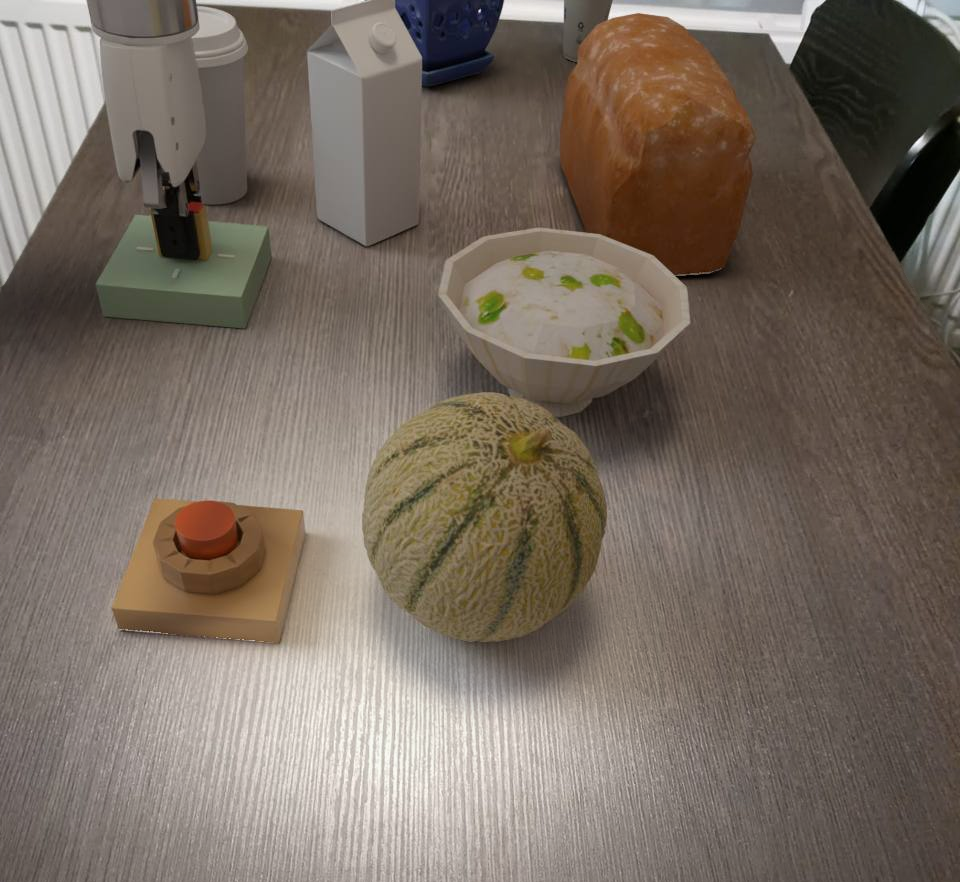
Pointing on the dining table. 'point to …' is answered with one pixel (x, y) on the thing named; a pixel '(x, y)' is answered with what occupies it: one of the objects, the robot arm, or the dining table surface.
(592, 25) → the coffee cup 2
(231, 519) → the bell button
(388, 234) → the milk carton
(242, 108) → the coffee cup
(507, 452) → the cantaloupe
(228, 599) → the tan square stand
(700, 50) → the bread
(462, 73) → the flower pot
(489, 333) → the bowl
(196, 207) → the wooden block red tab
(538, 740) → the dining table surface
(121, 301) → the plate
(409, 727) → the dining table surface
